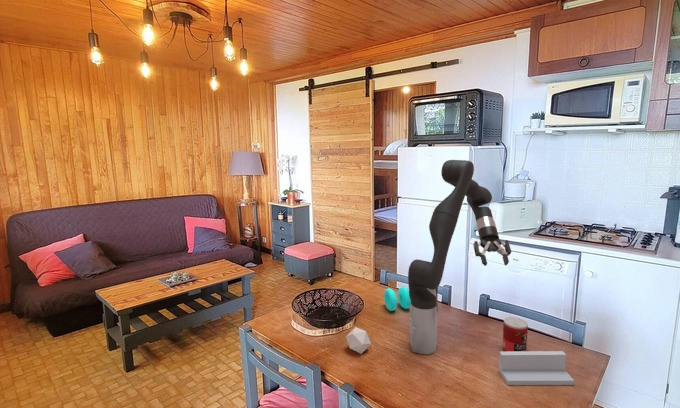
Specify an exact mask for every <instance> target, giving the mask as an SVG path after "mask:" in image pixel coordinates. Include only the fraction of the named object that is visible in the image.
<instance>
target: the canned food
mask: <svg viewBox="0 0 680 408" xmlns="http://www.w3.org/2000/svg"><path fill="white" fill-rule="evenodd" d="M502 325H503V328H502V349H503V350H504V351H503V352H507V351H527V349H528V348H527V346H528V331H529V330H528V329H529V325H528V322H527V321H526V320H525V319H523V318H520V317H518V316H517V317H516V316H507V317H505V318H504V319H503V324H502Z"/></svg>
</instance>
